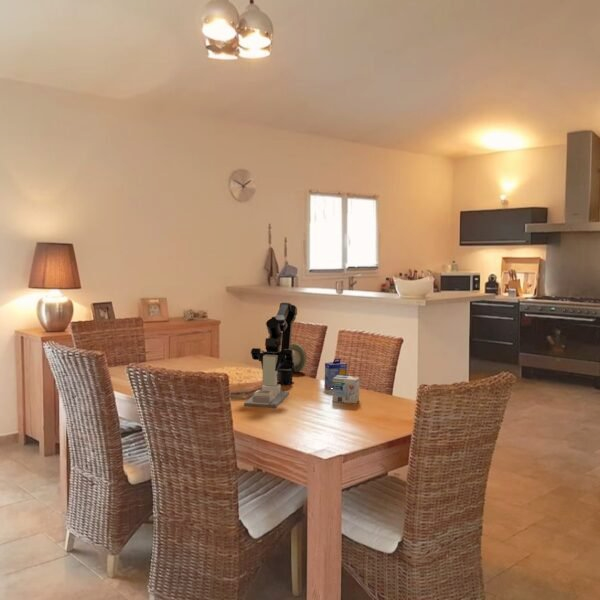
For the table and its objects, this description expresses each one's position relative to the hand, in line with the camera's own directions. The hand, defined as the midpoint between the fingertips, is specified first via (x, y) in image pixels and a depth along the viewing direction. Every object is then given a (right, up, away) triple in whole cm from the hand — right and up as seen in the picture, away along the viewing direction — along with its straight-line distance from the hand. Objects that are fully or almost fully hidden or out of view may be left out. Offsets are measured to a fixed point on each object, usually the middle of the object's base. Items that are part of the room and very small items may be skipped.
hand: (269, 370), depth 279 cm
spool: (+6, -9, +63) cm, 64 cm away
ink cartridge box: (+31, -12, +28) cm, 43 cm away
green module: (0, -7, +2) cm, 7 cm away
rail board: (-1, -13, +3) cm, 14 cm away
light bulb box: (+34, -14, +1) cm, 37 cm away
